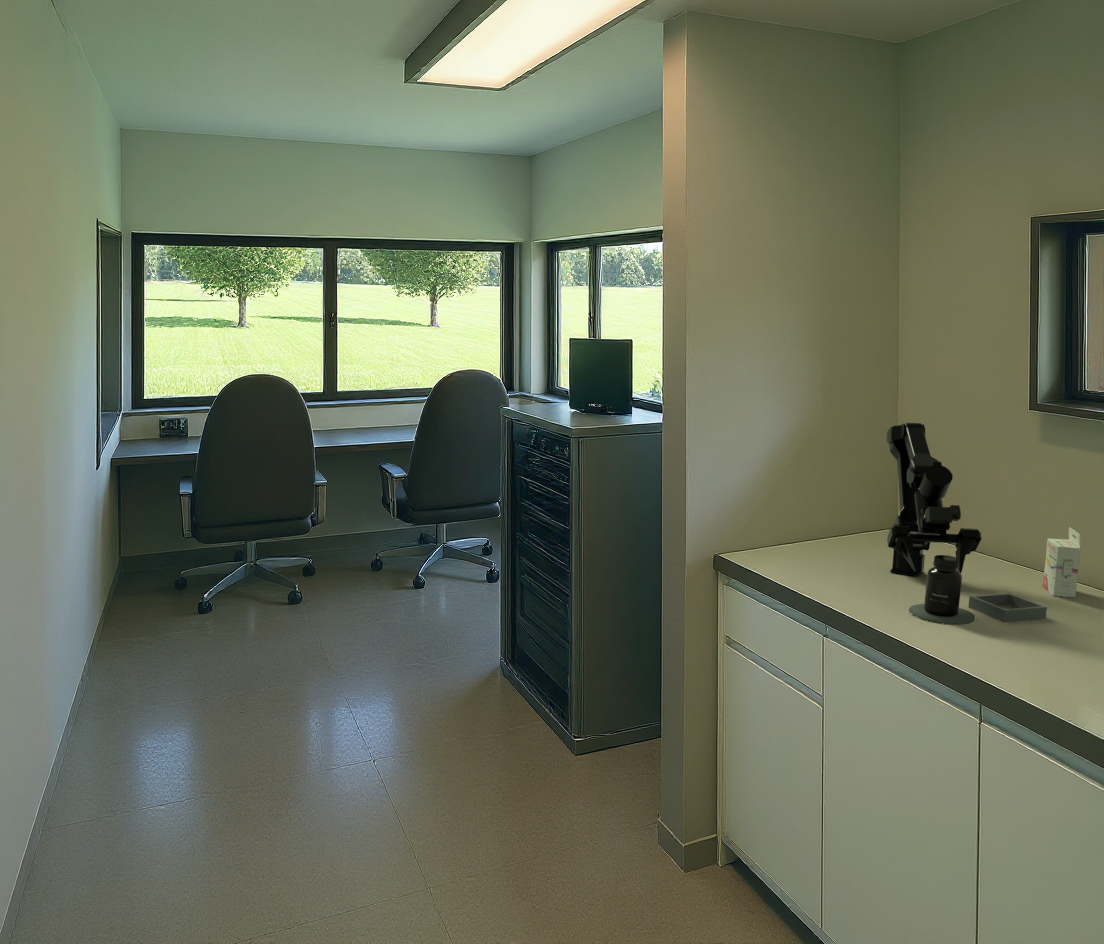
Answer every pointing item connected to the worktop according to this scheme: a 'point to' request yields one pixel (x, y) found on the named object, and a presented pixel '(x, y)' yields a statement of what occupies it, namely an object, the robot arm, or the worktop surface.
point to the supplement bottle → (943, 587)
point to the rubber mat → (960, 618)
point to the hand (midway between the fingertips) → (937, 571)
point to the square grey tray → (1020, 613)
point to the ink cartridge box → (1062, 565)
